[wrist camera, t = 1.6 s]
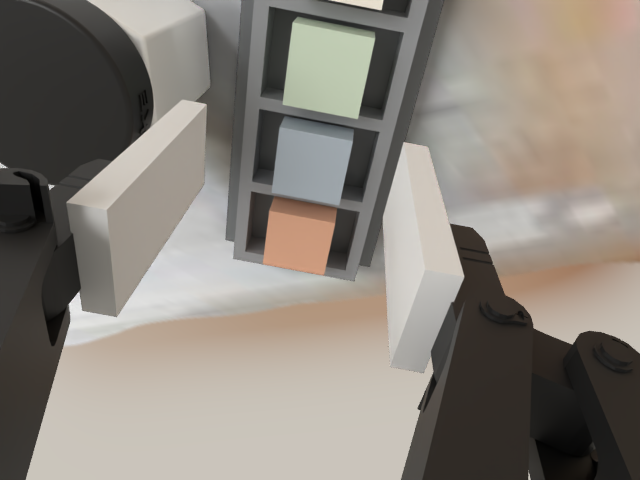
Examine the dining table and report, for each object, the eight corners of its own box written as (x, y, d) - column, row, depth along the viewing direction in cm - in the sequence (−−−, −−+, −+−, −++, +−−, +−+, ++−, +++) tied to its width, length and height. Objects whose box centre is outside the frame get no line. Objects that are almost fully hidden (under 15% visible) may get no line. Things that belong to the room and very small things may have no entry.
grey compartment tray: (230, 229, 37) (217, 255, 34) (257, -146, 24) (242, -157, 21) (369, 255, 37) (369, 284, 34) (468, -104, 24) (482, -109, 21)
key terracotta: (267, 247, 34) (262, 264, 32) (274, 195, 31) (269, 210, 30) (326, 258, 34) (323, 275, 32) (336, 207, 31) (335, 223, 30)
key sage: (287, 94, 28) (282, 104, 26) (297, 16, 25) (292, 22, 24) (358, 107, 28) (357, 119, 26) (374, 31, 25) (375, 38, 24)
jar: (134, 131, 33) (32, 217, 23) (52, 16, 29) (-113, 59, 19) (241, 73, 30) (178, 142, 20) (165, -61, 27) (41, -59, 17)
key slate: (276, 178, 31) (271, 192, 29) (285, 115, 28) (279, 127, 27) (340, 190, 31) (339, 205, 29) (353, 129, 28) (352, 141, 27)
